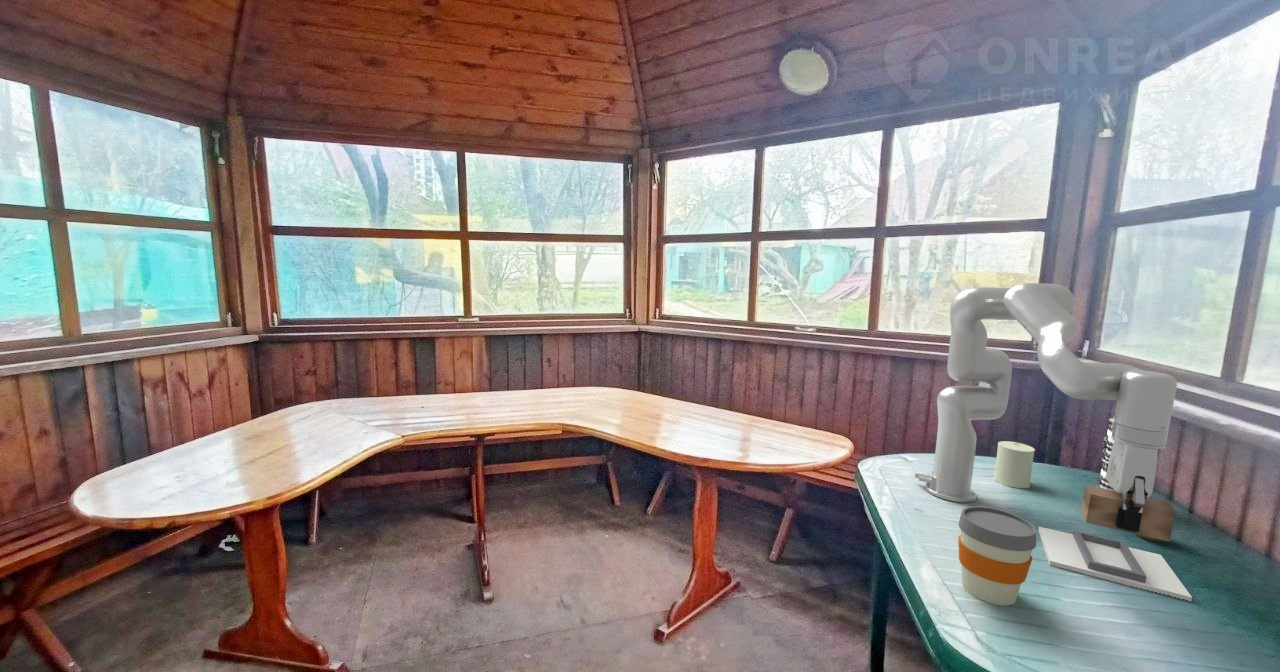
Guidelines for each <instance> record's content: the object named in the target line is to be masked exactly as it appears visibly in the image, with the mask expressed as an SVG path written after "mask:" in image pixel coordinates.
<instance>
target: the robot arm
mask: <svg viewBox="0 0 1280 672" xmlns="http://www.w3.org/2000/svg"><path fill="white" fill-rule="evenodd" d="M1075 305H1076V301H1075V296H1074V295H1073V293H1072V291H1070V289H1068V287H1066V286H1063V285H1061V284H1056V283H1039V282H1038V283H1036V282H1034V283H1033V282H1032V283H1031V282H1027V283H1020V284H1016V285H1014V286H1012V287H993V286H990V287H989V286H988V287H986V286H984V287H983V286H981V287H978V286H977V287H971V288H970V287H969V288H967V289H964V290H961V291H960V292H958V293H957V294H956V295H955V297H954V298H953V299H952V301H951V304H950V308H949V316H950V318H949V319H950V326H951V327H950V339H949V348H948V356H947V363H946V364H947V368H946V369H947V374H948V376H949V378H951V379H952V380H953V381H957V382H964V383H978V385H952V386H947V387H944V388H943V389H942V390H941V391H940V392H939V393H938V395H937V396H936V398H937V399H936V407H937V416H938V417H937V419H938V420H937V422H938V423H937V434H936V442H935V452H934V462H933V470H932V471H931V472H927V473H923V472H920V471H915V475H914V478H915V479H918V481H919V482H925V490H926V491H927V492H928V493H930V495H933V496H934V497H938V498H939V499H943V500H947V501H950V502H955V503H972V502H974V501H976V500H977V493H976V492H975V491H974V489H973V490H972V480H973V473H974V464H975V457H976V447H977V440H978V439H977V432H976V431H975V428H974V426H973V424H972V421H978V420H979V421H984V420H986V421H987V420H988V421H990V420H997V419H999V418H1001V417H1003V415H1004V414H1005V413H1006V410H1007V407H1008V403H1009V396H1010V388H1011V382H1012V381H1011V380H1012V372H1013V366H1012V361H1011V359H1010V357H1009V356H1008V354H1006V352H1004V351H1003V350H1001V349H998V348H993V347H992V348H991V347H987V340H988V331H987V328H986V326H985V325H984V323H983V320H999V321H1001V320H1002V321H1017V322H1018V323H1019V325H1020V326H1022V328H1023V329H1024V330H1025V331H1026V332H1027V333H1028V334H1029V335H1030V336H1031V337H1032V338H1033V340H1034V341H1036V342H1037V344H1038V345H1037V348H1036V349H1037V350H1036V355H1037V361H1038V364H1039V367H1040V369H1041V370H1042V371H1041V372H1043V374H1044V375H1045V376H1046V377H1047V378H1048V379H1049V380H1050V381H1051V383H1052V384H1053V385H1054V386H1055V387H1056V388H1057V389H1058V390H1059V391H1060V392H1062V393H1064V394H1065V395H1066V396H1068V397H1070V398H1073V399H1077V400H1105V401H1107V400H1108V401H1109V400H1111V401H1113V400H1115V401H1116V407H1115V412H1114V413H1115V414H1114V416H1115V418H1114V423H1113V429H1112V436H1111V438H1112V439H1114V440H1115V441H1114V444H1113V447H1112V451H1111V455H1110V460H1109V464H1108V468H1107V473H1106V479H1107V481H1108V482H1109V484H1110V485H1111V487H1112V488H1113V491H1115V492H1117V493H1118V494H1121V493H1123V494H1122V505H1121V508H1120V507H1119V510H1118V515H1117V521H1116V526H1117V528H1120V529H1124V530H1129V531H1133V532H1139V528H1140V522H1141V517H1142V512H1143V505H1144V503H1145V499H1148V498H1151V497H1152V494H1153V490H1154V486H1155V485H1154V484H1155V480H1156V474H1157V473H1156V471H1157V465H1158V453H1159V450H1164V449H1166V446H1167V440H1168V437H1169V430H1170V424H1171V419H1172V414H1173V407H1174V405H1175V404H1174V402H1175V397H1176V392H1177V388H1178V387H1177V386H1178V383H1177V380H1176V378H1175V377H1174V376H1172V375H1170V374H1167V373H1162V372H1160V371H1159V372H1158V371H1152V370H1144V369H1141V368H1137V367H1135V366H1133V365H1129V364H1125V363H1120V362H1119V363H1118V362H1083V361H1082V360H1080V359H1079V358H1078V357H1077V356H1076V355H1075V354H1074V353H1073V352H1072V351H1071V349H1070V348H1069V347H1067V344H1068V343H1069V342H1071V341H1072V340H1073V339H1074V338H1075V337H1076V336H1077V335H1078V333H1079V332H1080V328H1081V327H1080V326H1081V325H1080V323H1079V321H1078V320H1077V319H1076V317H1074V316H1072V314H1070V313H1071V312H1072V311H1073V310H1074V308H1075ZM1128 497H1130V498H1133V499H1132V500H1129V501H1128V502H1127V500H1128Z"/></svg>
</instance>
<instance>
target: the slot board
mask: <svg viewBox="0 0 1280 672" xmlns="http://www.w3.org/2000/svg"><path fill="white" fill-rule="evenodd" d="M1038 534H1039V537H1040V540H1041V543H1042V546H1043V549H1044V552H1045V555H1046V558H1047V562H1048V564H1049V566H1051V567H1055V568H1060V569H1063V570H1064V569H1065V570H1067V571H1071V572H1075V573H1080V574H1083V575H1087V576H1091V577H1095V578H1099V579H1102V580H1105V581H1111V582H1114V583H1118V584H1121V585H1123V586H1124V585H1125V586H1129V587H1132V586H1133V587H1134V588H1136V587H1137V589H1140V588H1141V590H1143V591H1147V590H1149V591H1148V592H1151V591H1153V592H1152V593H1155V592H1157V593H1156V594H1159V593H1161V594H1160V595H1163V594H1165V595H1164V596H1167V595H1170V596H1172V597H1171V598H1174V597H1176V598H1175V599H1178V598H1180V599H1179V600H1182V599H1185V600H1184V601H1186V600H1188V601H1187V602H1189V601H1191V602H1192V599H1193V597H1192V595H1191V594H1190V593H1189V591H1188V590H1187V588H1186V587H1185V586H1184V584H1183V582H1182V581H1180V580H1181V579H1179V578H1178V576H1177V575H1176V573H1175V572H1174V570H1173V569H1172V568H1171V567H1170V565H1169V564H1168V563H1167V561H1166V559H1165V558H1164V557H1163V555H1162V554H1159V553H1155V552H1151V551H1146V550H1143V549H1138V548H1134V547H1129V546H1128V545H1127V543H1126V542H1125V541H1123V540H1118V539H1114V538H1111V537H1105V536H1101V535H1096V534H1092V533H1089V532H1085V531H1084V532H1083V531H1079V530H1073V534H1072V533H1069V532H1064V531H1060V530H1056V529H1052V528H1046V527H1043V526H1038ZM1133 587H1132V588H1133ZM1145 589H1146V590H1145ZM1170 596H1169V597H1170Z"/></svg>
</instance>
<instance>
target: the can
mask: <svg viewBox="0 0 1280 672" xmlns="http://www.w3.org/2000/svg"><path fill="white" fill-rule="evenodd" d="M1035 451H1036V449H1035V448H1034V447H1033V446H1030V445H1029V444H1028V445H1027V444H1024V443H1022V442H1021V443H1020V442H1017V441H1009V440H1008V441H1007V440H1002V441H998V442H997V453H996V459H995V467H994V474H993V477H992V478H993V480H994V481H995V482H997V483H999V484H1001V485H1004V486H1005V487H1010V488H1014V487H1015V489H1029V488H1030V487H1031V476H1032V469H1033V463H1034V456H1035Z"/></svg>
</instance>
